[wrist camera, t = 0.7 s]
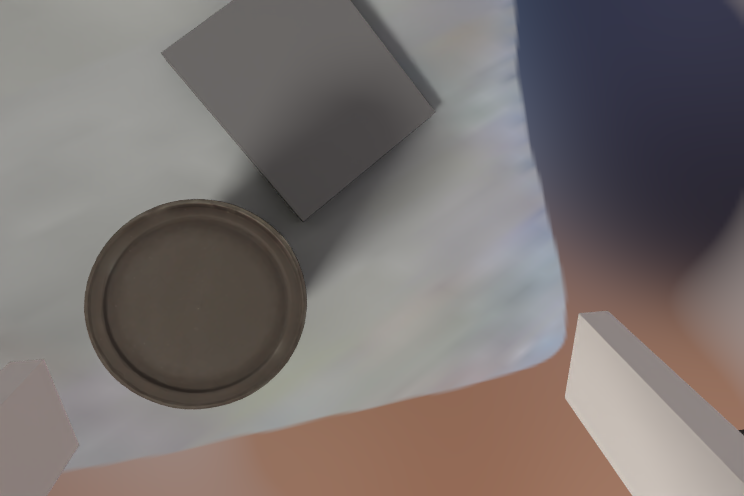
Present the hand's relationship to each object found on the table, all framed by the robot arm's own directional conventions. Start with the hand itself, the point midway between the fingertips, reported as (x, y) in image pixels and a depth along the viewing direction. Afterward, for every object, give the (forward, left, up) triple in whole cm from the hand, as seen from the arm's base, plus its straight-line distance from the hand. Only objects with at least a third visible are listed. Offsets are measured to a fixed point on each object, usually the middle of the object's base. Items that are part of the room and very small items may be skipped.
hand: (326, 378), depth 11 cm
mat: (-12, +10, -25) cm, 30 cm away
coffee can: (-4, -4, -26) cm, 26 cm away
